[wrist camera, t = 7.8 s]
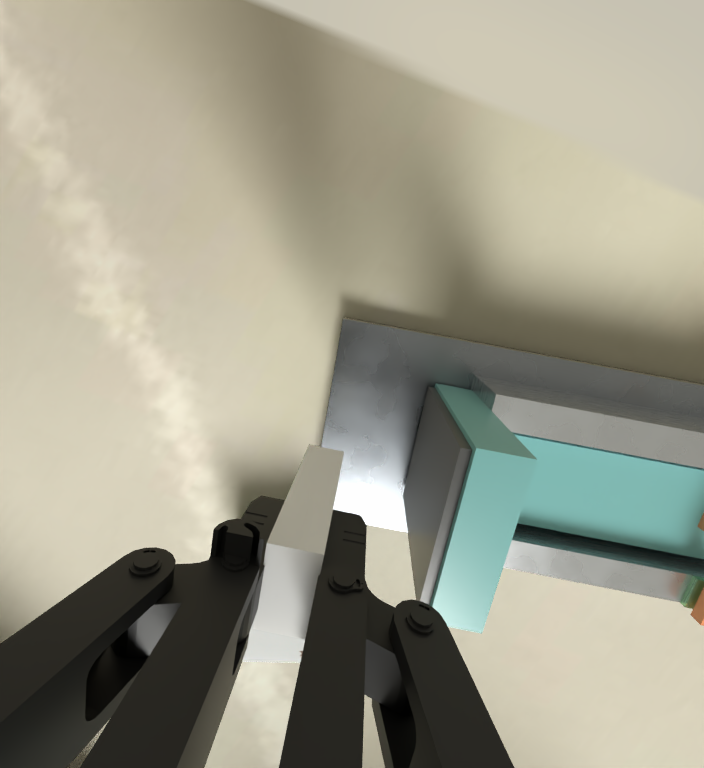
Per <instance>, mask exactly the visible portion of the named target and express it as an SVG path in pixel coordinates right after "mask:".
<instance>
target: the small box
mask: <svg viewBox="0 0 704 768" xmlns="http://www.w3.org/2000/svg"><path fill="white" fill-rule="evenodd" d="M254 619H255V618H254ZM253 625H254V621H253V624H252V627H251V629H250V633H249V639H248V645H247V649H246V652H245V655H244V657H243V660H242V662H285V663H301V658H302V653H303V648H304V643H305V640H304V639H300V638H295V637H290V636H285V635H281V634H276V633H271V632H266V631H262V630H257V629H253Z"/></svg>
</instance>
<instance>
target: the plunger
mask: <svg viewBox="0 0 704 768" xmlns="http://www.w3.org/2000/svg"><path fill="white" fill-rule="evenodd" d="M403 499H404V507H405V515H406V523H407V531H408V539H409V546H410V554H411V562H412V570H413V578H414V586H415V594H416V600H417V601H422V602H424V603H426V604H428V605H430V606H432V607H433V608H434V609H435V610H436V611H438V612H439V613H440V615H441V616H442V617H443V619H444V620H445V622H446V624H447V626H448V627H451V628H457V629H462V630H467V631H472V632H477V633H482V632H483V629H484V625H485V622H486V619H487V616H488V613H489V610H490V607H491V604H492V601H493V597H494V594H495V591H496V588H497V585H498V582H499V579H500V576H501V572H502V569H503V566H504V563H505V560H506V557H507V554H508V551H509V548H510V544H511V541H512V538H513V535H514V532H515V529H516V526H517V523H519V524H524V525H530V526H535V527H540V528H545V529H550V530H555V531H561V532H566V533H571V534H576V535H581V536H586V537H591V538H597V539H602V540H607V541H612V542H617V543H622V544H628V545H633V546H638V547H643V548H648V549H653V550H658V551H664V552H669V553H674V554H679V555H684V556H689V557H695V558H700V559H704V469H703V468H698V467H693V466H687V465H682V464H677V463H672V462H666V461H661V460H656V459H651V458H645V457H640V456H635V455H630V454H624V453H619V452H614V451H608V450H603V449H598V448H593V447H587V446H582V445H577V444H572V443H566V442H561V441H556V440H551V439H545V438H540V437H535V436H529V435H524V434H519V433H514V432H511V431H510V430H509V429H508V428H507V427H506V426H505V425H504V424H503V423H502V421H501V420H500V419H499V418H498V417H497V416H496V415H495V414H494V413H493V412H492V411H491V410H490V409H489V408H488V407H487V406H486V405H485V403H484V402H483V401H482V400H481V399H480V398H479V397H478V396H477V395H476V394H475V393H474V392H473V391H472V390H469V389H464V388H459V387H453V386H448V385H443V384H437V383H436V384H435V388H433V387H428V390H427V394H426V399H425V403H424V407H423V411H422V416H421V420H420V424H419V428H418V433H417V437H416V441H415V445H414V450H413V454H412V458H411V462H410V467H409V471H408V475H407V480H406V484H405V488H404V492H403ZM691 616H692V617H693V618H694V619H695V620H696V621H697V622H698V623H699V624H700V625H703V626H704V587H703V590H702V592H701V594H700V596H699V598H698V600H697V602H696V604H695V606H694V609H693V611H692V613H691Z"/></svg>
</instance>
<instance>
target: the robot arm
mask: <svg viewBox="0 0 704 768" xmlns="http://www.w3.org/2000/svg"><path fill="white" fill-rule="evenodd" d="M343 456H344V451H339V450H334V449H329V448H324V447H319V446H314V445H309V446H308V448H307V451H306V453H305V455H304V458H303V460H302V462H301V465H300V467H299V469H298V472H297V474H296V476H295V479H294V481H293V483H292V486H291V488H290V490H289V493H288V495H287V497H286V499H285V500H280V499H275V498H270V497H265V496H260V497H258V498H257V499H255V500H254V501H252V502H251V503H250V505H249V506H248V508H247V510H246V511H245V513H244V515H243V517H242V518H241V519H233V520H227V521H225V522H223V523H220V524H219V525H218V526H217V527H216V528H215V529H214V531H213V540H212V548H211V556H210V558H209V560H207V561H204V562H200V563H193V564H175V559H174V557H173V554H171V553H170V552H168V551H167V550H164V549H160V548H143V549H139V550H135V551H133V552H131V553H129V554H127V555H125V556H124V557H122V558H121V559H119V560H118V561H116V562H115V563H114V564H112V565H111V566H109V567H108V568H107V569H105V570H104V571H102V572H101V573H100V574H98V575H97V576H95V577H94V578H93V579H91V580H90V581H88V582H87V583H85V584H84V585H83V586H81V587H80V588H78V589H77V590H76V591H74V592H73V593H71V594H70V595H69V596H67V597H66V598H64V599H63V600H62V601H60V602H59V603H57V604H56V605H55V606H53V607H52V608H50V609H49V610H47V611H46V612H45V613H43V614H42V615H40V616H39V617H38V618H36V619H35V620H33V621H32V622H31V623H29V624H28V625H26V626H25V627H24V628H22V629H21V630H19V631H18V632H16V633H15V634H14V635H12V636H11V637H9V638H8V639H7V640H5V641H4V642H2V643H1V644H0V768H67V767H68V766H69V764H70V763H71V762H72V761H73V760H74V759H75V758H76V757H77V755H78V754H79V753H80V752H81V751H82V750H83V749H84V748H85V746H86V745H87V744H88V743H89V742H90V741H91V740H92V738H93V737H94V736H95V735H96V734H97V733H98V732H99V731H100V729H101V728H102V727H103V726H104V725H105V724H106V723H107V721H108V720H109V719H110V718H111V719H110V720H109V722H108V724H107V725H106V727H105V728H104V730H103V732H102V733H101V735H100V737H99V738H98V740H97V741H96V743H95V745H94V746H93V748H92V750H91V751H90V753H89V754H88V756H87V758H86V759H85V761H84V762H83V764H82V766H81V767H80V768H204V767H205V764H206V761H207V758H208V755H209V753H210V750H211V747H212V744H213V741H214V739H215V736H216V733H217V730H218V727H219V725H220V722H221V719H222V716H223V713H224V711H225V708H226V705H227V702H228V699H229V697H230V694H231V691H232V688H233V685H234V683H235V680H236V677H237V674H238V671H239V669H240V666H241V663H242V660H243V657H244V655H245V652H246V649H247V645H248V639H249V633H250V629H251V627H252V624H253V621H254V625H253V629H257V630H262V631H266V632H271V633H276V634H281V635H285V636H290V637H295V638H300V639H304V640H305V643H304V648H303V653H302V658H301V663H300V667H299V672H298V677H297V682H296V687H295V692H294V697H293V702H292V706H291V711H290V716H289V721H288V726H287V731H286V736H285V741H284V746H283V750H282V755H281V760H280V765H279V768H362V753H363V720H364V694H365V695H367V696H368V697H370V698H372V707H373V712H374V717H375V721H376V726H377V731H378V736H379V740H380V745H381V750H382V755H383V759H384V764H385V768H514V766H513V764H512V762H511V760H510V758H509V756H508V754H507V751H506V749H505V747H504V745H503V743H502V741H501V739H500V737H499V734H498V732H497V730H496V728H495V726H494V724H493V722H492V720H491V717H490V715H489V713H488V711H487V709H486V707H485V705H484V703H483V700H482V698H481V696H480V694H479V692H478V690H477V688H476V686H475V683H474V681H473V679H472V677H471V675H470V673H469V671H468V669H467V667H466V664H465V662H464V660H463V658H462V656H461V654H460V652H459V650H458V647H457V645H456V643H455V641H454V639H453V637H452V635H451V633H450V630H449V628H448V626H447V624H446V622H445V620H444V619H443V617H442V616H441V615H440V613H439V612H438V611H436V610H435V609H434V608H433V607H432V606H430V605H428V604H426V603H424V602H422V601H417V600H406V601H402V602H401V603H399V604H398V605H397V606H396V608H395V607H393V606H391V605H389V604H387V603H385V602H383V601H381V600H380V599H378V598H377V597H376V596H375V595H373V594H372V593H371V591H370V590H369V589H368V587H367V584H366V581H365V553H366V527H367V525H366V523H365V521H364V520H363V518H362V516H361V515H358V514H353V513H348V512H344V511H339V510H334V509H333V507H334V502H335V497H336V492H337V486H338V481H339V476H340V471H341V466H342V461H343ZM254 618H255V619H254Z"/></svg>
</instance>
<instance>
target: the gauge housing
mask: <svg viewBox="0 0 704 768" xmlns="http://www.w3.org/2000/svg"><path fill="white" fill-rule="evenodd" d="M436 383H437V384H443V385H448V386H453V387H459V388H464V389H469V390H472V391H473V392H474V393H475V394H476V395H477V396H478V397H479V398H480V399H481V400H482V401H483V402H484V403H485V405H486V406H487V407H488V408H489V409H490V410H491V411H492V412H493V413H494V414H495V415H496V416H497V417H498V418H499V419H500V420H501V421H502V423H503V424H504V425H505V426H506V427H507V428H508V429H509V430H510V431H511V432H514V433H519V434H524V435H529V436H535V437H540V438H545V439H551V440H556V441H561V442H566V443H572V444H577V445H582V446H587V447H593V448H598V449H603V450H608V451H614V452H619V453H624V454H630V455H635V456H640V457H645V458H651V459H656V460H661V461H666V462H672V463H677V464H682V465H687V466H693V467H698V468H703V469H704V384H700V383H695V382H689V381H684V380H679V379H673V378H668V377H662V376H657V375H652V374H646V373H641V372H636V371H630V370H625V369H619V368H614V367H609V366H603V365H598V364H592V363H587V362H582V361H576V360H571V359H566V358H560V357H555V356H549V355H544V354H539V353H533V352H528V351H523V350H517V349H512V348H506V347H501V346H496V345H490V344H485V343H480V342H474V341H469V340H463V339H458V338H453V337H447V336H442V335H437V334H431V333H426V332H420V331H415V330H410V329H404V328H399V327H394V326H388V325H383V324H377V323H372V322H367V321H361V320H356V319H351V318H345V317H344V318H343V322H342V328H341V334H340V340H339V346H338V351H337V357H336V363H335V369H334V375H333V381H332V386H331V392H330V398H329V404H328V410H327V416H326V421H325V427H324V433H323V439H322V445H321V447H324V448H329V449H334V450H339V451H344V456H343V461H342V466H341V471H340V476H339V481H338V486H337V492H336V497H335V502H334V507H333V509H334V510H339V511H344V512H348V513H353V514H358V515H361V516H362V518H363V520H364V521H365V523H366V524H367V525H372V526H377V527H382V528H387V529H392V530H397V531H402V532H408V531H407V523H406V515H405V507H404V499H403V492H404V488H405V484H406V480H407V475H408V471H409V467H410V462H411V458H412V454H413V450H414V445H415V441H416V437H417V433H418V428H419V424H420V420H421V416H422V411H423V407H424V403H425V399H426V394H427V390H428V387H433V388H435V384H436ZM503 568H507V569H513V570H518V571H523V572H528V573H533V574H538V575H543V576H548V577H553V578H558V579H564V580H569V581H574V582H579V583H584V584H589V585H594V586H599V587H604V588H609V589H614V590H620V591H625V592H630V593H635V594H640V595H645V596H650V597H655V598H660V599H665V600H671V601H676V602H680V603H681V604H682V605H683V606H684V607H686V608H692V609H694V606H695V604H696V602H697V600H698V598H699V596H700V594H701V592H702V590H703V587H704V559H700V558H695V557H689V556H684V555H679V554H674V553H669V552H664V551H658V550H653V549H648V548H643V547H638V546H633V545H628V544H622V543H617V542H612V541H607V540H602V539H597V538H591V537H586V536H581V535H576V534H571V533H566V532H561V531H555V530H550V529H545V528H540V527H535V526H530V525H524V524H519V523H517V526H516V529H515V532H514V535H513V538H512V541H511V544H510V548H509V551H508V554H507V557H506V560H505V563H504V566H503Z"/></svg>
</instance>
